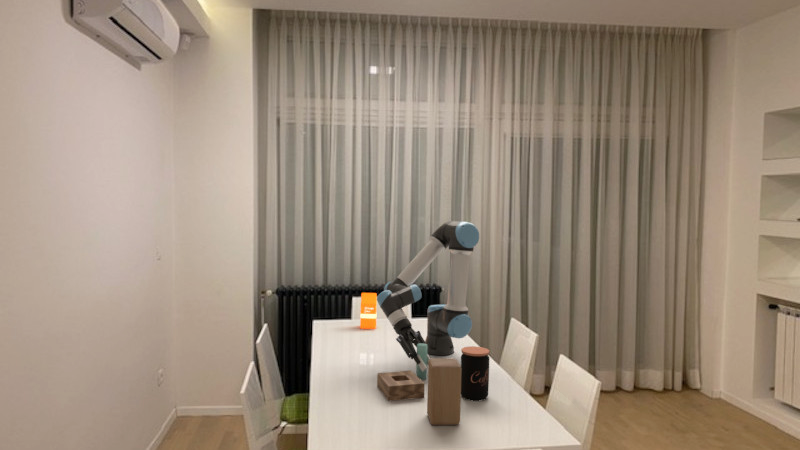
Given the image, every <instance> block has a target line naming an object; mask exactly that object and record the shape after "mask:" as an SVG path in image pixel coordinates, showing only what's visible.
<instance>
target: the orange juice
mask: <svg viewBox="0 0 800 450" xmlns="http://www.w3.org/2000/svg"><path fill="white" fill-rule="evenodd" d="M377 293H378V292H377ZM377 293H376V292H361V296H360V299H361V300H360V323H359V325H360V327H359V328H360V329H361V330H363V329H368V330H369V329H370V330H371V329H372V330H376V328H377V315H378V314H377V310H378V309H377V307H378V306H377V305H378V302H377V297H378V295H377Z"/></svg>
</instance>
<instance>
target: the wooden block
mask: <svg viewBox="0 0 800 450" xmlns="http://www.w3.org/2000/svg"><path fill="white" fill-rule="evenodd" d="M461 369H462V368H461V364H460V363H459V361H458V360H457V359H456V358H431V359H429V361H428V365H427V402H426V403H427V404H426V407H427V408H426V409H427V410H426V414H427V416H428V419H429V422H430V424H431V425H432V426H436V425H437V426H445V425H447V426H448V425H449V426H451V425H452V426H453V425H454V426H455V425H460V423H461V401H462V400H461V398H462V396H461Z"/></svg>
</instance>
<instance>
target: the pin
mask: <svg viewBox="0 0 800 450" xmlns="http://www.w3.org/2000/svg"><path fill="white" fill-rule="evenodd" d="M416 353H417V355H420V357H421V359H422V360H423V362H424V364H425V365H426V367H427V369H425V370H424V371H423V372H422V370H421V369H420V367H419V366H418V364H417V363H416V362H415V363H416V366H415V369H416V370H415V371H416V372H415V375H416V376H417V377H418V378H419V379H420V380H426V379H428V365H427V344H424V343H419V344H417V347H416Z"/></svg>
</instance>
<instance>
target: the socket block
mask: <svg viewBox="0 0 800 450" xmlns="http://www.w3.org/2000/svg"><path fill="white" fill-rule="evenodd" d="M376 375H377V379H376V380H377V381H376V387H377V388H378V389H379V391H380V392H381V393H382V395H383V396H384V397H385V398H386V399H387V401H388V402H393V401H401V400H402V401H404V400H411V399H412V400H415V399H424V398H425V382H424V381H423V379H419V378H418V377H417V376H416V373H414V372H413V370H399V371H389V372H388V371H387V372H377V374H376Z"/></svg>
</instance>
